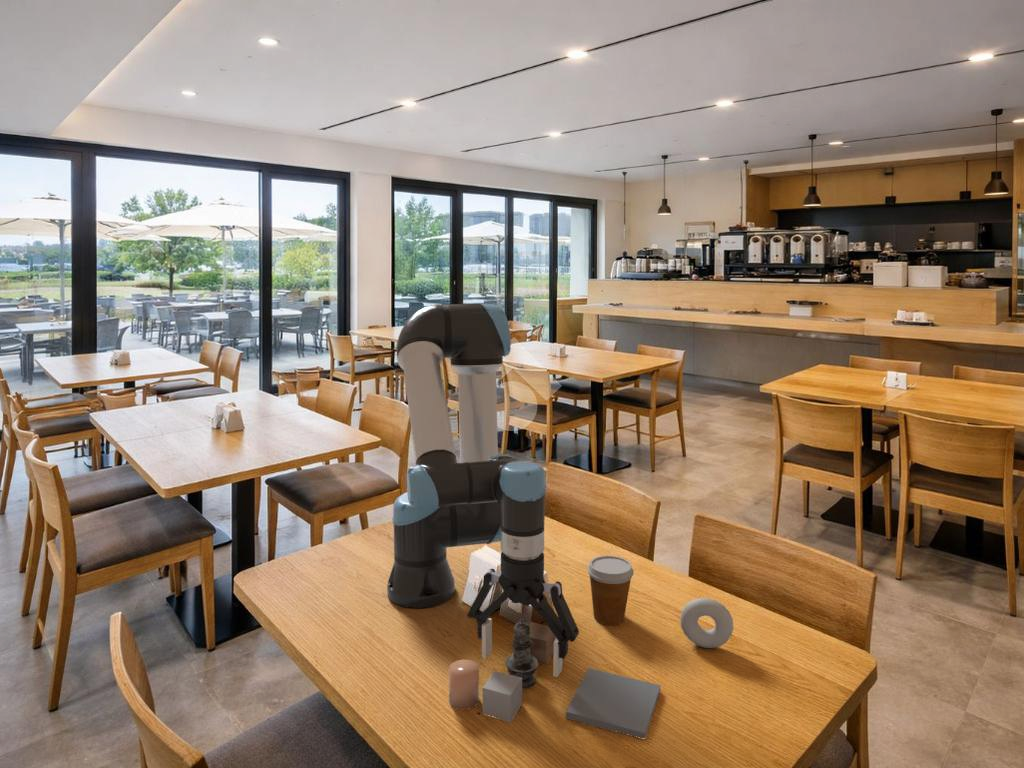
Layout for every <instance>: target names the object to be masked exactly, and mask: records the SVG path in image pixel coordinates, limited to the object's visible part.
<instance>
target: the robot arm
mask: <svg viewBox="0 0 1024 768" xmlns="http://www.w3.org/2000/svg"><path fill="white" fill-rule="evenodd" d="M511 337H512V336H511V329H510V325H509V321H508V318H507V315H506V313H505V311H504V309H503V308H502V307H501V306H500V305H498V304H492V303H465V304H464V303H458V304H457V303H455V304H454V303H452V304H441V303H439V304H437V303H436V304H429V305H427V306H425V307H422V308H421V309H418V310H417V311H416V312H414V313H413V314H412V315H411V316H410V317H409V318H408V319H407V321H406V322H405V323H404V325H403V327H402V329H401V331H400V333H399V336H398V339H397V343H396V358H397V364H398V366H399V367H400V368H401V369H402V370H403V372H404V373H403V375H404V376H403V377H404V382H405V383H404V384H405V390H406V399H407V405H408V415H409V421H410V431H411V439H412V445H413V453H414V462H415V466H410V467H408V468H407V469H406V492H404V493H402V494H400V495H399V496H398V497H397V498H396V499H395V501H394V503H393V507H392V509H393V510H392V518H391V519H392V524H393V552H394V553H393V557H394V562H393V565H392V567H391V571H390V575H389V576H388V581H387V585H386V587H387V590H386V591H387V592H386V593H387V594H388V595H387V594H386V595H387V597H388V600H389V601H390V602H392V603H393V604H395V605H397V606H401V607H403V606H404V607H405V608H408V607H412V608H411V609H422V608H421V607H426V608H431V607H430V606H432V607H435V606H438V604H439V605H441V604H444V603H445V602H448V600H450V599H451V598H452V597H453V595H454V594H455V591H456V589H455V586H456V585H455V583H456V582H455V578H454V576H453V573H452V569H451V567H450V564H449V561H448V559H447V549H448V548H453V547H456V548H457V547H464V546H473V545H474V546H475V545H485V544H486V545H490V544H493V543H498V542H500V550H501V553H500V573H498V572H496V569H495V568H490V569H489V570H488V571H486V573H485V574H484V575H483V578H482V579H483V581H482V586H481V588H480V590H479V591H478V594H477V595H476V597H475V599H474V600H473V603H472V605H471V606H470V608H469V610H468V612H467V617H468V618H469V619H473V620H475V621H476V623H477V637H478V639H481V659H483V660H487V658H488V657H489V656H490V654H491V653H492V651H493V619H492V618H490V616H491V615H492V614H493V613H494V612H495V611H496V610H497V609H498V608H499V607H500V606H501V605H502V604H503V603H504V602H506V600H510V601H511V603H512V604H521V605H523V606H527V607H529V606H531V608H532V609H533V610H534V611H535V612H537V613H538V614H539V615H540V617H541V619H543V622H544V623H545V625H547V626H548V627H549V628H550V630H551V631H552V632H553V634H554V635H555V641H554V653H553V658H552V659H553V662H552V663H553V671H552V677H554V678H558V677H559V675H560V673H561V672H562V671H563V660H564V659H565V658H566V656H567V655H568V653H569V642H572V643H574V642H575V641H576V639H577V637H578V636H579V633H580V630H579V627H578V626H577V624H576V621H575V619H574V617H573V614H572V612H571V610H570V608H569V606H568V604H567V601H566V598H565V597H564V593H563V584H562V582H561V581H555V582H554V583H549V582H546V581H545V578H544V577H545V576H544V575H545V553H544V551H545V519H546V518H545V516H546V515H545V512H546V509H545V508H546V491H547V483H546V476H545V475H546V474H545V468H544V467H543V466H542V465H541V464H539V463H536V462H534V461H528V460H519V459H516V457H513V456H512V455H510V454H507V453H499V450H498V448H499V446H498V445H499V444H498V440H499V439H498V438H499V437H498V399H497V396H498V395H497V372H498V370H499V369H500V368H502V367H503V363H504V360H503V359H504V358H505V357H507V356H509V355H510V353H511V348H512V347H511V346H512V338H511ZM444 358H446V359H447V358H449V359H450V366H451V367H452V369H453V370H455V371H456V373H457V385H458V387H457V389H458V391H457V392H458V398H457V399H458V425H459V426H458V427H459V428H458V429H459V430H458V431H459V462H458V461H457V454H456V448H455V443H454V437H453V432H452V431H453V430H452V426H451V420H450V414H449V409H448V404H447V403H448V402H447V398H446V392H445V385H444V380H443V379H444V378H443V373H442V368H441V364H442V363H443V360H444ZM497 582H498V584H499V586H500V587H501V588H502V590H503V592H501V594H499V595H498V596H497V597H496V598H495V599H494V600H493V601H492V602H491V603H490V604H489V605H488V606H487V607H486V608H485V609H484V610H481V608H482V606H483V604H484V603H485V600H486V598H487V597H488V595H489V593H490V591H491V589H492V588H493V586H494V585H496V584H497ZM544 592H546V593H547V596H546V595H545V593H544ZM547 597H548V598H550V599H551V602H552V606H553V607H554V609H553V608H552V606H551V605H550V603H549V602H548V598H547Z"/></svg>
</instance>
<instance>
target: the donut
mask: <svg viewBox="0 0 1024 768" xmlns="http://www.w3.org/2000/svg"><path fill="white" fill-rule="evenodd" d="M730 612H731V611H729V610H728V609H727V607H726V606H725V605H724V604H722V603H721V602H720V601H717V600H716V599H713V598H709V597H699V598H698V597H697V598H693V599H692V600H690V601H688V603H686V604H685V605H684V607H683V608H682V610H681V612H680V617H679V620H680V627H681V629H682V631H683V634H684V635H685V636H686V638H687V639H688V640H689V641H690V642H692V643H693V644H695V645H697V646H699V647H701V648H704V649H706V648H707V649H714V648H718V647H722V646H723V645H725V644H726V643H727V642H728V641H729V640H730V639H731V637H732V636H733V632H734V631H733V630H734V628H735V627H734V619H733V617H732V615H731V613H730ZM704 616H705V617H706V616H707V617H709V618H711V619H712V620H713V621H714V623H715V625H714V627H713V628H711V629H704V628H703V627H701V625H699V619H700V618H702V617H704Z"/></svg>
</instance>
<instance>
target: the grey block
mask: <svg viewBox="0 0 1024 768" xmlns="http://www.w3.org/2000/svg"><path fill="white" fill-rule="evenodd" d="M521 704H523V689H522V678H521V677H517V676H513V675H510V674H509V673H506V672H505V673H504V672H501V671H497V670H494V671H493V673H491V675H490V677H489V678H488V679H487V680H486V682H485V683H484V685H483V686H482V715H483V714H486V715H490V716H494V717H496V718H495V719H497V718H499V719H498V720H500V719H501V720H500V721H503V720H505V722H507V721H508V722H507V723H511V722H512V721H513V719H514V718H513V717H515V716H516V715H517V713H518V711H519V709H520V708H521V706H522V705H521ZM516 712H517V713H516ZM486 715H485V716H486ZM490 716H489V717H490Z"/></svg>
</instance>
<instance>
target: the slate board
mask: <svg viewBox="0 0 1024 768" xmlns="http://www.w3.org/2000/svg"><path fill="white" fill-rule="evenodd" d="M660 694H661V685H660V684H657V683H654V682H653V683H652V682H649V681H644V680H641V679H637V678H631V677H627V676H625V675H620V674H616V673H612V672H607V671H604V670H600V669H595V668H591V667H588V668H587V670H586V672H585V673H584V676H583V678H582V680H581V681H580V684H579V685H578V687H577V690H576V691H575V693H574V695H573V697H572V700H571V701H570V703H569V705H568V707H567V708H566V711H565V719H569V720H571V721H574V722H577V723H578V722H579V723H581V724H582V723H583V724H586V725H590V726H592V727H597V728H599V729H600V728H601V729H603V728H604V729H603V730H607V729H608V730H607V731H610V730H613V731H612V732H614V731H617V732H616V733H618V732H620V733H619V734H621V733H624V734H623V735H625V734H629V735H632V736H635V737H634V738H636V736H637V737H640V738H645V737H647V735H648V732H647V730H648V731H649V729H648V727H649V728H650V726H649V724H650V725H651V722H652V719H653V716H652V715H654V713H653V712H654V711H655V710H656V707H655V706H657V704H658V700H659V696H660ZM654 709H655V710H654ZM651 718H652V719H651ZM650 721H651V722H650ZM646 734H647V735H646ZM632 736H631V737H632ZM645 739H646V738H645Z"/></svg>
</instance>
